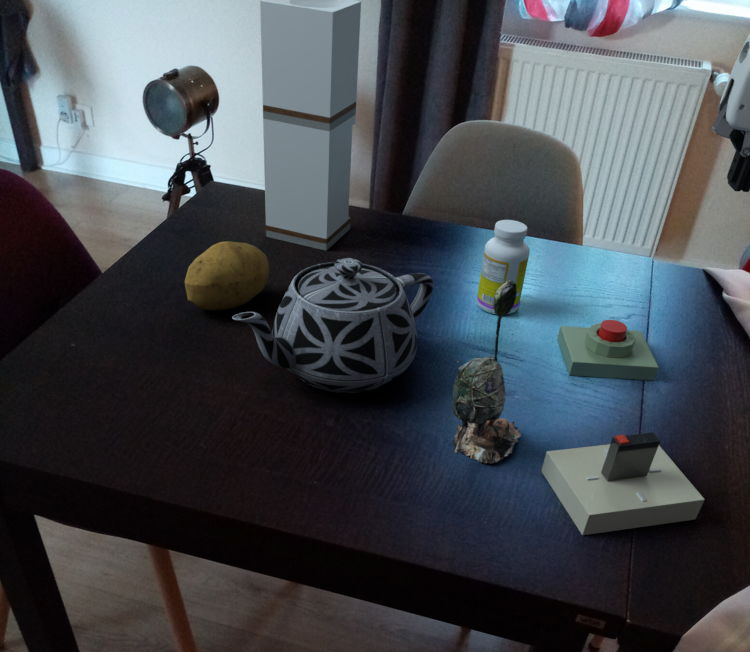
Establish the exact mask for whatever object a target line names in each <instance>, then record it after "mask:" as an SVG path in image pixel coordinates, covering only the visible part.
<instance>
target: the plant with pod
mask: <svg viewBox="0 0 750 652" xmlns="http://www.w3.org/2000/svg"><path fill="white" fill-rule="evenodd" d="M516 295H517V290H516V283H515V282H513V281H510V280H508V281H507V282H506V283H504V284H503V285H502V286H501V287H500V288H499V289H498V290H497V291H496V294H495V297H494V301H493V306H494V310H495V314H494V315H497V321H496V330H495V335H496V336H495V341H494V356H492V355H491V356H486V357H476V358H473V359H470V360H469V361H466V362H465V363H464V364H462V365H460V366H459V367H458V369H457V371H456V377H455V381H454V384H453V389H452V409H453V415H454V416H455V417H456V418H457V420H461V424H458V426H457V428H456V432H455V434H454V438H453V441H452V442H451V443H452V444H453V446H454V448H455V449H454V453H455V454H458V453H459V452H461V453H462V454H464V455H465V457H469V456H470V459H473V460H476V461H477V462H478V463H479V462H480V463H481V464H482V463H483V464H494V463H495V464H496V463H499V461H500V460H503V459H504V458H505V457H508V456H509V454H512V453H513V448H514V447H515V444H516V443H519V440H518V439H519V438H520V437H522V434H521V431H520V430H518V429H519V427H518V426H515V421H512V422H510V421H508V419H507V418H501V416H502V413H503V411H504V406H505V401H506V396H507V395H506V387H505V386H506V385H505V378H504V372H503V367H502V366H501V363H500V362H499V361H498V352H499V337H500V331H501V330H500V328H501V322H502V317H503V316H508V315H509V314H508V313H509V312H510V310H511V309H512V308H513V306H514V302H515V300H516ZM456 363H457V364H459V363H460V361H459V360H456Z"/></svg>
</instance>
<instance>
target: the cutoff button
mask: <svg viewBox="0 0 750 652" xmlns="http://www.w3.org/2000/svg"><path fill="white" fill-rule="evenodd" d="M600 323H601V326H600V329H599V333H598V336H599V337H600V338H602V339H603V340H606V341H609V342H618V343H619V342H622V341H623V340H624V338H625V334H626V331H627V330H628V326H627V325H626V324H625V323H624V322H621V321H619V320H616V319H604V320H602V321H601V322H600Z"/></svg>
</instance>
